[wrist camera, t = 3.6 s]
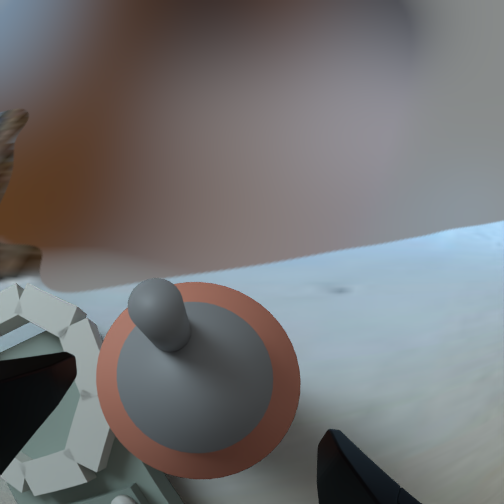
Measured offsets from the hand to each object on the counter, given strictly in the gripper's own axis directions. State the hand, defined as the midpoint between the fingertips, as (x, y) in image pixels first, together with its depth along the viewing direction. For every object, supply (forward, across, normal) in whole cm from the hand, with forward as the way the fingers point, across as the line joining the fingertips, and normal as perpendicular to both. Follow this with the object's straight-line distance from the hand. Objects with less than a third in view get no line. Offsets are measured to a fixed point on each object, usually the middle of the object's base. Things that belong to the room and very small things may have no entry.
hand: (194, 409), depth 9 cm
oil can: (+7, 0, -6) cm, 10 cm away
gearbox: (+2, -7, -11) cm, 13 cm away
